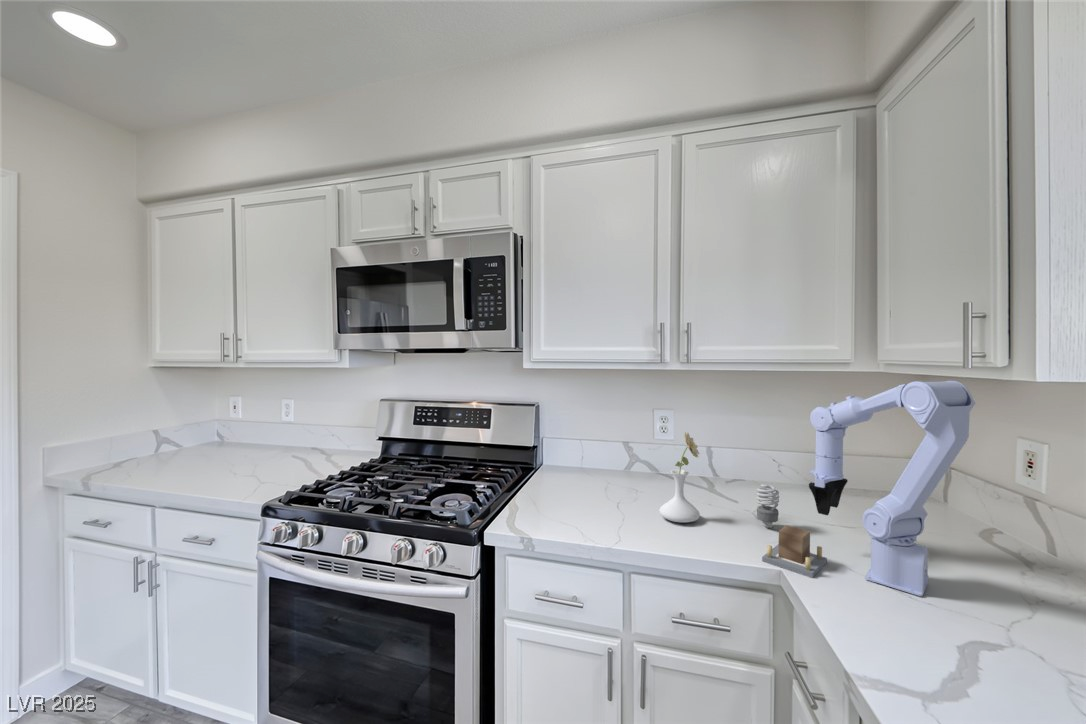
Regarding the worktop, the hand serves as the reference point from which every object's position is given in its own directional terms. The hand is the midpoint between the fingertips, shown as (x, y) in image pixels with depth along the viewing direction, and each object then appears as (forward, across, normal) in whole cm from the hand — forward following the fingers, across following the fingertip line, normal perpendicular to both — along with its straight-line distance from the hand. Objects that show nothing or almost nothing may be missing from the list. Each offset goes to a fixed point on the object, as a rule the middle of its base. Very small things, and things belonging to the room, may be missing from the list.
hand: (828, 510), depth 110 cm
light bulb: (+10, -2, -15) cm, 18 cm away
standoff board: (+9, +14, -3) cm, 17 cm away
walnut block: (+8, +14, -3) cm, 17 cm away
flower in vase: (+10, +9, -35) cm, 37 cm away
